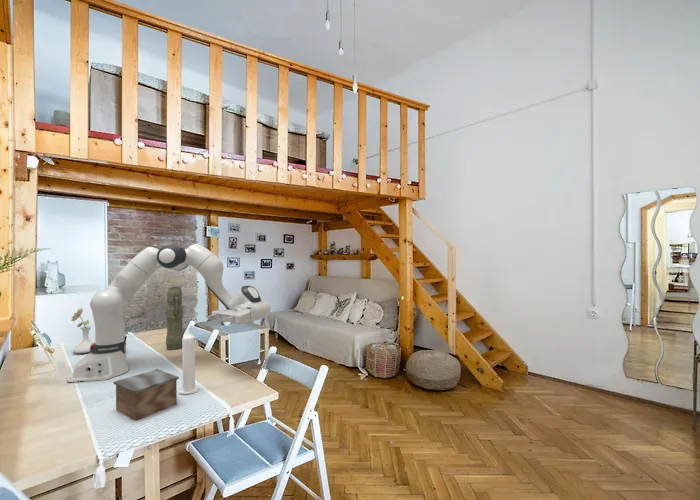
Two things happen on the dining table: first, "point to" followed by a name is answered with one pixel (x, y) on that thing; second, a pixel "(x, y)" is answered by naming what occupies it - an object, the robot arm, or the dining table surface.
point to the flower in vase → (85, 344)
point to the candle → (188, 364)
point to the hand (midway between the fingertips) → (215, 319)
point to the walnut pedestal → (146, 393)
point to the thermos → (174, 318)
